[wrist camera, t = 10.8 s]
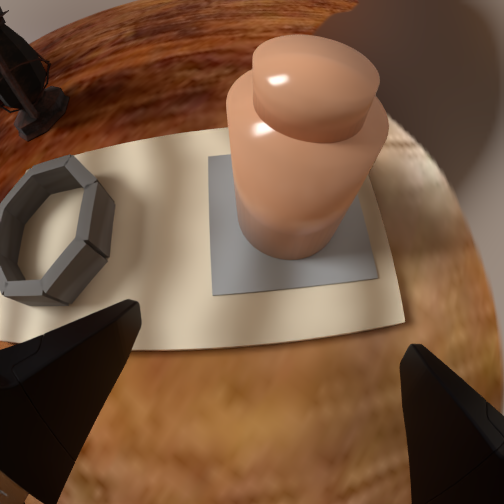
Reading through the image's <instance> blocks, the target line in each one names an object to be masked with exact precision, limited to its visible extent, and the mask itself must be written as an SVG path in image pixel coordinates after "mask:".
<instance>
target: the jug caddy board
mask: <svg viewBox="0 0 504 504" xmlns="http://www.w3.org/2000/svg"><path fill="white" fill-rule="evenodd" d="M126 299H131V300H135V301H138V302H139V304H140V310H141V318H142V325H141V329H140V331H139V333H138V336H137V338H136V340H135V343H134V345H133V348H132V350H131V351H177V350H203V349H221V348H236V347H248V346H260V345H270V344H279V343H288V342H297V341H305V340H312V339H319V338H326V337H333V336H339V335H346V334H352V333H358V332H363V331H369V330H374V329H379V328H385V327H390V326H394V325H398V324H401V323H404V322H405V318H404V312H403V306H402V301H401V295H400V290H399V285H398V280H397V276H396V271H395V267H394V262H393V258H392V254H391V250H390V246H389V242H388V238H387V234H386V231H385V227H384V223H383V220H382V216H381V213H380V209H379V206H378V203H377V200H376V196H375V193H374V190H373V187H372V184H371V181H370V178H369V175H367V177H366V179H365V181H364V182H363V184H362V186H361V188H360V190H359V192H358V193H357V195H356V197H355V199H354V200H353V202H352V204H351V206H350V208H349V209H348V211H347V213H346V215H345V216H344V218H343V220H342V221H341V223H340V225H339V227H338V228H337V230H336V232H335V233H334V235H333V237H332V238H331V240H330V241H329V243H328V244H327V245H326V246H325V247H324V248H323V249H322V250H321V251H319V252H317V253H316V254H314V255H312V256H310V257H306V258H303V259H298V260H283V259H278V258H274V257H271V256H268V255H266V254H264V253H262V252H260V251H259V250H257V249H256V248H255V247H254V246H252V245H251V244H250V243H249V241H248V240H247V239H246V238H245V236H244V235H243V233H242V231H241V229H240V226H239V223H238V218H237V209H236V199H235V190H234V180H233V170H232V160H231V150H230V140H229V129H228V128H219V129H210V130H202V131H194V132H187V133H180V134H173V135H167V136H161V137H155V138H149V139H144V140H139V141H134V142H129V143H124V144H119V145H115V146H110V147H106V148H102V149H98V150H94V151H90V152H86V153H82V154H78V155H72V156H71V154H70V155H67V156H63V157H60V158H56V159H53V160H50V161H47V162H44V163H41V164H38V165H35V166H33V168H32V169H31V168H30V169H29V170H26V173H25V175H24V176H23V177H22V178H21V179H20V180H19V181H18V183H17V184H16V185H15V186H14V187H13V188H12V190H11V191H10V192H9V193H8V195H7V196H6V197H5V198H4V200H3V201H2V202H1V203H0V341H4V342H10V343H17V344H20V343H22V342H25V341H27V340H30V339H32V338H35V337H37V336H40V335H44V333H47V332H49V331H52V330H54V329H56V328H59V327H61V326H63V325H66V324H68V323H71V322H73V321H75V320H78V319H80V318H83V317H85V316H87V315H90V314H92V313H95V312H97V311H99V310H102V309H104V308H107V307H109V306H111V305H114V304H116V303H118V302H121V301H123V300H126Z"/></svg>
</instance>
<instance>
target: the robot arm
mask: <svg viewBox="0 0 504 504" xmlns="http://www.w3.org/2000/svg"><path fill="white" fill-rule="evenodd" d="M141 325H142V318H141V310H140V304H139V302H138V301H135V300H131V299H126V300H123V301H121V302H118V303H116V304H114V305H111V306H109V307H107V308H104V309H102V310H99V311H97V312H95V313H92V314H90V315H87V316H85V317H83V318H80V319H78V320H75V321H73V322H71V323H68V324H66V325H63V326H61V327H59V328H56V329H54V330H52V331H49V332H47V333H44V335H40V336H37V337H35V338H32V339H30V340H27V341H25V342H22V343H20V344H17V345H14V346H11V347H8V348H5V349H2V350H0V504H25V502H24V501H25V500H26V498H27V496H28V494H30V495H32V496H33V497H35V498H36V499H38V500H39V501H40V502H42V503H43V504H57V502H58V499H59V497H60V495H61V492H62V490H63V488H64V486H65V483H66V481H67V479H68V477H69V475H70V472H71V470H72V468H73V466H74V464H75V461H76V459H77V457H78V455H79V453H80V451H81V449H82V447H83V445H84V443H85V441H86V439H87V437H88V435H89V433H90V431H91V429H92V427H93V425H94V423H95V421H96V419H97V417H98V415H99V413H100V411H101V409H102V407H103V405H104V403H105V401H106V399H107V398H108V396H109V394H110V392H111V390H112V388H113V386H114V384H115V383H116V381H117V379H118V377H119V375H120V373H121V372H122V370H123V368H124V366H125V364H126V362H127V360H128V357H129V355H130V353H131V350H132V348H133V345H134V343H135V340H136V338H137V336H138V333H139V331H140V329H141ZM400 379H401V394H402V407H403V415H404V422H405V429H406V437H407V445H408V455H409V466H410V479H411V498H412V504H504V416H503V415H502V414H501V413H500V412H498V411H497V410H496V409H495V408H494V407H493V406H492V405H491V404H490V403H488V402H486V400H485V399H484V398H483V397H482V396H481V395H480V394H478V393H477V392H476V391H475V390H474V389H473V388H472V387H471V386H469V385H468V384H467V383H466V382H465V381H464V380H463V379H462V378H460V377H459V376H458V375H457V374H456V373H455V372H454V371H452V370H451V369H450V368H449V367H448V366H447V365H445V364H444V363H443V362H442V361H441V360H440V359H438V358H437V357H436V356H435V355H434V354H433V353H431V352H430V351H429V350H428V349H427V348H426V347H424V346H423V345H422V344H411V345H410V346H409V347H408V349H407V351H406V353H405V355H404V357H403V358H402V360H401V363H400Z"/></svg>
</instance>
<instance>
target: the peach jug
mask: <svg viewBox="0 0 504 504" xmlns="http://www.w3.org/2000/svg"><path fill="white" fill-rule="evenodd" d="M379 82H380V78H379V74H378V71H377V70H376V68H375V66H374V65H373V64H372V63H371V62H370V61H369V60H368V59H367V58H366V57H365V56H364V55H362V54H361V53H359V52H358V51H356V50H355V49H353V48H351V47H349V46H347V45H345V44H342V43H340V42H337V41H334V40H331V39H327V38H323V37H318V36H311V35H287V36H281V37H276V38H273V39H270V40H268V41H266V42H264V43H262V44H261V45H260V46H258V47H257V49H256V50H255V52H254V54H253V69H252V70H250V71H248V72H246V73H245V74H244V75H242V76H241V77H240V78H239V79H238V80H236V81H235V83H234V84H233V85H232V87H231V88H230V90H229V92H228V96H227V101H226V108H227V119H228V129H229V140H230V150H231V160H232V170H233V180H234V190H235V199H236V209H237V218H238V223H239V226H240V229H241V231H242V233H243V235H244V236H245V238H246V239H247V240H248V241H249V243H250V244H251V245H252V246H254V247H255V248H256V249H257V250H259V251H260V252H262V253H264V254H266V255H268V256H271V257H274V258H278V259H283V260H298V259H303V258H306V257H310V256H312V255H314V254H316V253H317V252H319V251H321V250H322V249H323V248H324V247H325V246H326V245H327V244H328V243H329V241H330V240H331V238H332V237H333V235H334V233H335V232H336V230H337V228H338V227H339V225H340V223H341V221H342V220H343V218H344V216H345V215H346V213H347V211H348V209H349V208H350V206H351V204H352V202H353V200H354V199H355V197H356V195H357V193H358V192H359V190H360V188H361V186H362V184H363V182H364V181H365V179H366V177H367V175H368V173H369V171H370V170H371V168H372V166H373V164H374V162H375V160H376V158H377V156H378V155H379V153H380V151H381V149H382V147H383V145H384V143H385V141H386V139H387V136H388V130H389V124H388V118H387V114H386V112H385V110H384V108H383V106H382V104H381V102H380V101H379V100H378V98H377V97H376V96H375V94H376V91H377V89H378V86H379Z"/></svg>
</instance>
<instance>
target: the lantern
mask: <svg viewBox="0 0 504 504" xmlns="http://www.w3.org/2000/svg"><path fill="white" fill-rule="evenodd" d="M8 11H9V10H8ZM8 11H6V12H2V9H1V7H0V99H1V101H2V102H3V103H4V104H3V105H6V106H8V107H10V108H18V110H14V111H9V110H7V109H6V108H4V107H3V105H0V107H1V108H3V109H5V110H6V111H8V112H9V113H12V112H15V111H19V110H20V111H19V113H18V115H17V117H16V120H15V122H14V126H15V127H16V128H17V129H18V131H19V136H20V137H22V138H23V139H25V140H26V141H30V140H31V139H33V138H35V137H37V136H39V135H41V134H43V133H45V132H47V131H48V130H49V129H50V128H51V127H52V126H53V124H54V123H55V122H56V121H57V120H58V119H59V118H60V117H61V116H62V115H63V114H64V113H65V111H66V108H67V104H68V101H69V97H68V96H65V95H64V93H63V91H62V89H61V88H59V87H54V86H50V87H48V88H46V89H45V87H46V86H47V84H48V76H49V68H50V65H51V64H50V63H49V62H50V61H47V60H45V59H43V58H42V57H41V56H40V55H39V54H38V53H37V52H36V51H35V50H34V49H33V48H32V47H31V46H30V45H29V44H28V43H27V42H26V41H25V40H24V39H23V38H22V37H21V36H19V35H18V34H17V33H16V32H14V31H13V30H12V29H10V28H9V27H8V26H6V25H5V24H4V23H6V22H5V20H4V18H3V15H4V14H6V13H7V12H8ZM38 56H39V57H40V58H41V59H40V58H39V57H38ZM41 61H44V62H45V63H46V64H48V68H47V72H46V71H45V69H44V67H43V65H42V63H41ZM46 76H47V83H46V85H45V86H44V83H45V77H46ZM43 87H44V88H43ZM44 89H45V90H44Z"/></svg>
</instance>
